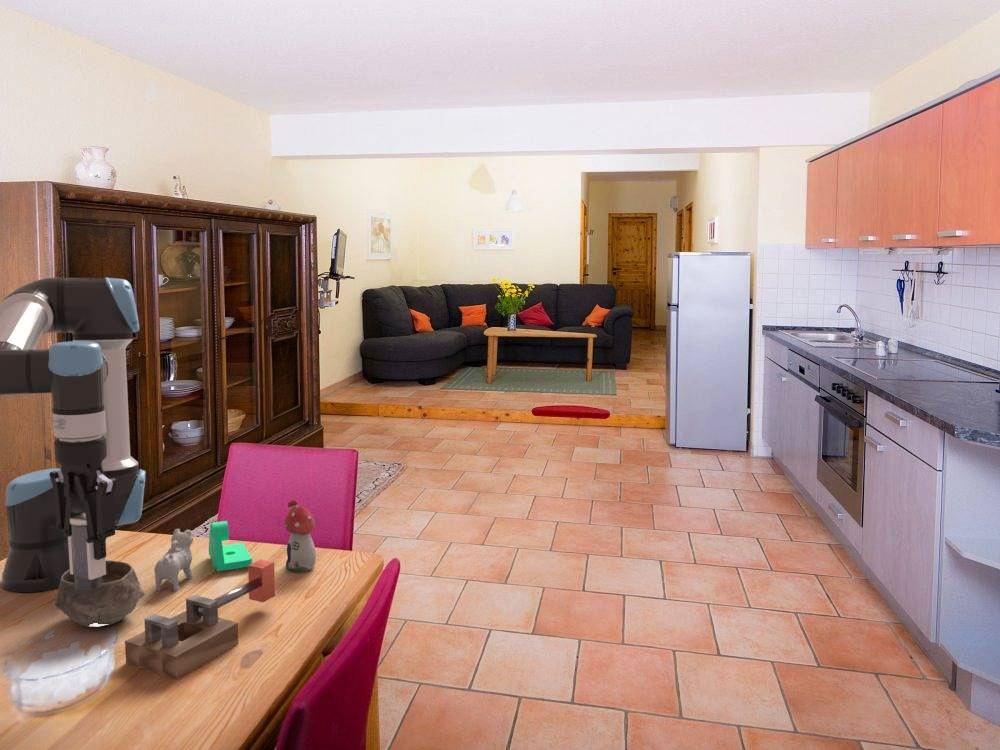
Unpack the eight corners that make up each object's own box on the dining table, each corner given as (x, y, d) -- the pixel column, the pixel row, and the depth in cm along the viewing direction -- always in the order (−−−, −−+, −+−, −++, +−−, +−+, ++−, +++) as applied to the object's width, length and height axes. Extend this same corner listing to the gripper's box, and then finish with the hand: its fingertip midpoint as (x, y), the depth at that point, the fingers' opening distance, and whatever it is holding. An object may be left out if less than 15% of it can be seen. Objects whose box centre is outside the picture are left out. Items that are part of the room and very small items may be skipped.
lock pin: (193, 628, 143) (191, 591, 142) (261, 592, 159) (260, 559, 158) (207, 632, 141) (206, 595, 140) (275, 595, 157) (274, 562, 156)
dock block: (125, 662, 135) (123, 618, 134) (189, 629, 148) (188, 588, 146) (176, 679, 130) (174, 633, 129) (238, 643, 142) (236, 601, 141)
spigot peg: (67, 588, 130) (63, 518, 129) (91, 578, 134) (87, 511, 133) (85, 593, 128) (81, 522, 127) (109, 583, 132) (105, 515, 131)
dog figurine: (200, 570, 176) (198, 524, 175) (177, 593, 163) (175, 544, 162) (176, 569, 176) (175, 524, 175) (151, 593, 163) (149, 544, 162)
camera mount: (253, 570, 177) (251, 526, 175) (217, 576, 173) (216, 531, 172) (242, 552, 187) (241, 511, 186) (209, 558, 184) (207, 515, 182)
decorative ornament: (283, 561, 182) (282, 498, 180) (312, 557, 185) (311, 495, 182) (288, 576, 174) (287, 510, 171) (318, 572, 176) (317, 507, 174)
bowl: (87, 645, 141) (84, 592, 139) (41, 624, 149) (37, 573, 147) (157, 617, 153) (155, 568, 151) (111, 598, 161) (108, 551, 159)
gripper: (24, 435, 128) (33, 572, 131) (94, 447, 121) (102, 592, 124) (67, 427, 135) (75, 557, 138) (136, 438, 128) (142, 575, 131)
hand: (88, 573), depth 131 cm, fingers closed on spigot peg, 4 cm apart
